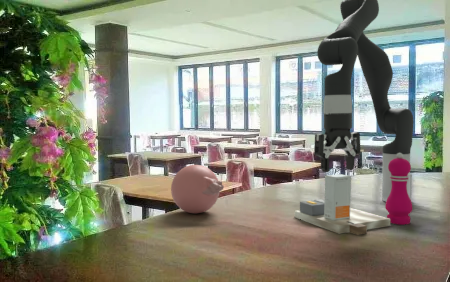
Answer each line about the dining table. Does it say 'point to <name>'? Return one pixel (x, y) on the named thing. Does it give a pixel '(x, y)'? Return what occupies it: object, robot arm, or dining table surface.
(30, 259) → the dining table surface
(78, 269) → the dining table surface
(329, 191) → the skincare box
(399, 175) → the pepper mill
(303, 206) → the block
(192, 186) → the balloon
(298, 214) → the board
